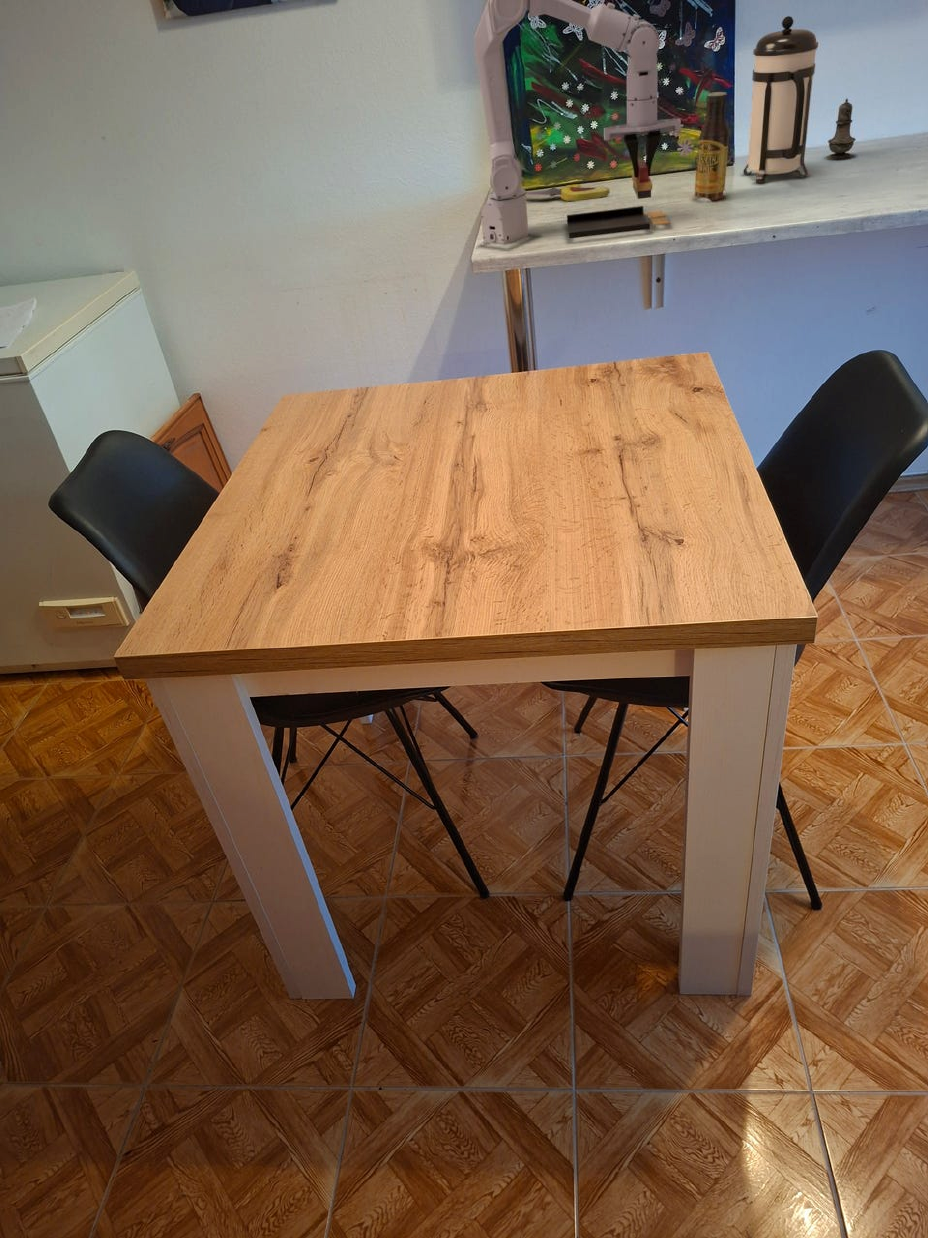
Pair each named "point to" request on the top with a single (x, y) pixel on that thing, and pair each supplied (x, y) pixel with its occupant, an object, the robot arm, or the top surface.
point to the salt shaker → (842, 134)
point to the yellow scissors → (572, 193)
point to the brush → (642, 181)
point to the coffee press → (781, 101)
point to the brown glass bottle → (712, 149)
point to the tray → (607, 222)
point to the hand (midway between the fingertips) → (641, 175)
